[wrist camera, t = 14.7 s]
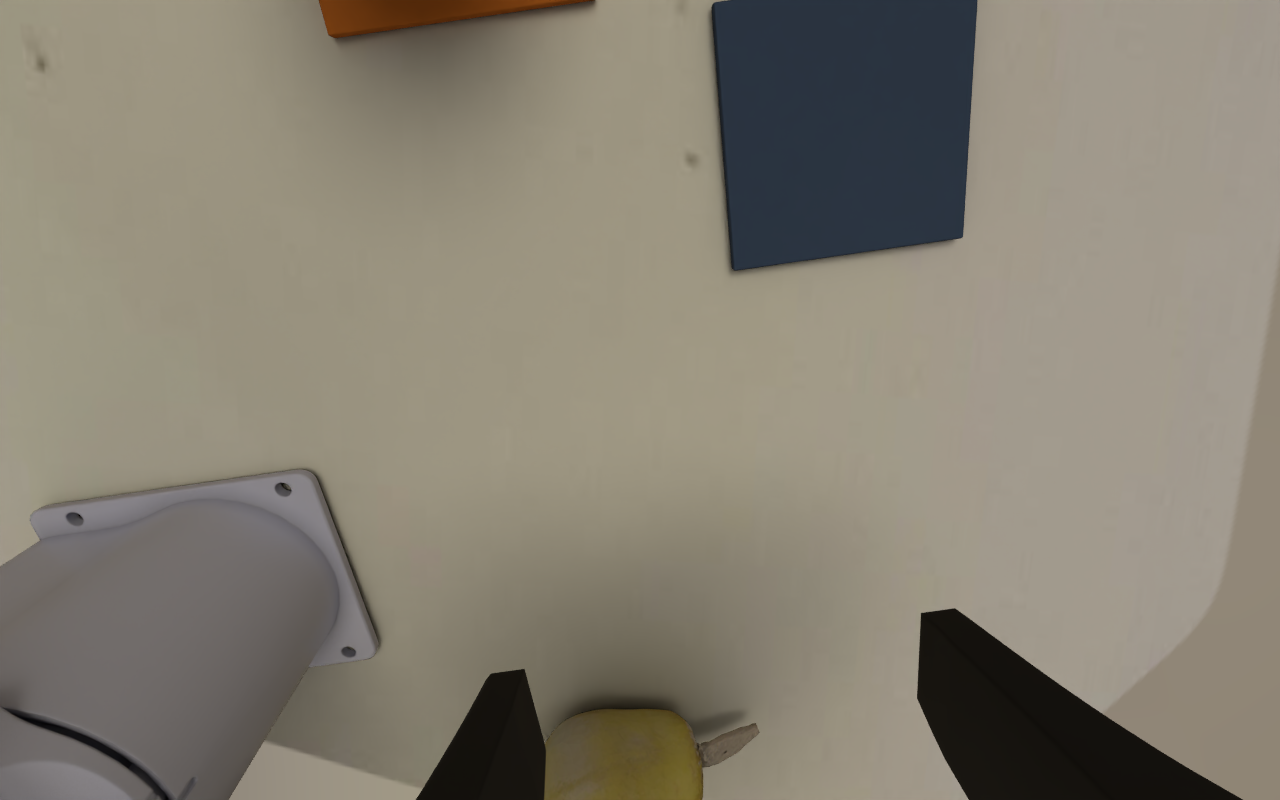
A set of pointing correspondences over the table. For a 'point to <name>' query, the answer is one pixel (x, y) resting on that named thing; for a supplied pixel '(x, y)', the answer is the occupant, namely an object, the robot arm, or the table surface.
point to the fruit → (632, 756)
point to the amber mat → (415, 12)
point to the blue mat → (842, 124)
